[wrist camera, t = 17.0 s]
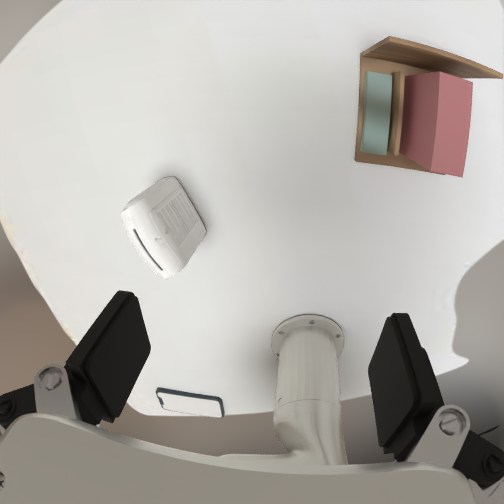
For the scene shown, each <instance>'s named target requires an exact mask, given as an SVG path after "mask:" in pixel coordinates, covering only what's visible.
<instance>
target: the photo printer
mask: <svg viewBox="0 0 504 504" xmlns="http://www.w3.org/2000/svg"><path fill="white" fill-rule="evenodd" d="M120 215H121V219H122V223H123V225H124V228H125V230H126V232H127V234H128V236H129V238H130V240H131V242H132V244H133V245H134V247H135V249H136V250H137V252H138V253H139V255H140V256H141V257H142V259H143V260H144V261H145V262H146V264H147V265H148V266H149V267H150V268H151V269H152V270H153V271H154V272H155V273H156V274H157V275H158V276H160V277H161V278H162V279H167V278H169V277H173V276H175V275H176V274H177V273H179V272H180V271H181V270H182V269H183V268H184V267H185V266H186V264H187V263H188V261H189V260H190V258H191V256H192V255H193V253H194V252H195V250H196V248H197V247H198V245H199V244H200V242H201V241H202V239H203V237H204V236H205V234H206V230H205V227H204V225H203V223H202V221H201V219H200V217H199V215H198V213H197V212H196V210H195V208H194V206H193V205H192V203H191V201H190V200H189V198H188V196H187V194H186V193H185V191H184V189H183V188H182V186H181V185H180V183H179V182H178V180H177V179H176V178H175V177H165V178H163V179H161V180H160V181H158V182H157V183H155V184H154V185H152V186H151V187H149V188H148V189H146V190H145V191H143V192H142V193H140V194H139V195H137V196H136V197H135V198H133V199H132V200H131V201H130V202H129V203H128V204H127V205H126V206H125V209H124V210H123V211H122V212H120Z"/></svg>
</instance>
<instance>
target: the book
mask: <svg viewBox="0 0 504 504" xmlns="http://www.w3.org/2000/svg"><path fill="white" fill-rule="evenodd" d="M472 88H473V82H470V81H467V80H464V79H461V78H459V77H456V76H452V75H449V74H446V73H443V72H431V73H423V74H415V75H408V76H405V79H404V100H403V115H402V127H401V137H400V147H399V153H401V154H403V155H404V156H406V157H408V158H410V159H411V160H413V161H415V162H416V163H418V164H420V165H421V166H423V167H425V168H426V169H428V170H429V171H432V172H438V173H443V174H448V175H453V176H458V177H463V171H464V166H465V159H466V153H467V145H468V138H469V129H470V119H471V106H472Z"/></svg>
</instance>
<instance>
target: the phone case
mask: <svg viewBox="0 0 504 504" xmlns="http://www.w3.org/2000/svg"><path fill="white" fill-rule="evenodd" d="M156 394H157V397H158V399H159V401H160V404H161V406H162V408H164V409H166V410H170V411H176V412H182V413H188V414H194V415H201V416H208V417H216V418H222V417H224V408H223V403H222V399H221V398H219V397H216V396H208V395H201V394H195V393H188V392H182V391H176V390H170V389H165V388H157V390H156Z"/></svg>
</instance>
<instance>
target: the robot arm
mask: <svg viewBox="0 0 504 504" xmlns="http://www.w3.org/2000/svg"><path fill="white" fill-rule="evenodd" d="M271 347H272V351H273V353H274V355H275V356H276V357H277V358H278V359H279V365H278V376H277V387H276V398H275V408H274V419H273V428H274V432H275V435H276V437H277V439H278V441H279V442H280V443H281V445H282V446H283V447H284V448H285V449H286V450H287V451H288V452H289V454H279V455H251V454H250V455H249V454H226V455H222V456H220V457H214V456H208V455H203V454H197V453H192V452H187V451H182V450H177V449H174V448H169V447H165V446H161V445H157V444H153V443H149V442H145V441H142V440H138V439H135V438H132V437H128V436H125V435H122V434H118V433H115V432H112V431H109V430H106V429H103V428H100V426H99V423H100V421H101V420H104V421H107V422H110V423H113V422H114V420H115V418H116V417H119V416H120V414H121V412H122V410H123V408H124V406H125V404H126V401H127V399H128V397H129V395H130V393H131V391H132V389H133V387H134V385H135V383H136V380H137V378H138V376H139V374H140V372H141V370H142V368H143V366H144V364H145V362H146V360H147V358H148V356H149V354H150V350H151V345H150V342H149V338H148V335H147V331H146V327H145V324H144V320H143V316H142V312H141V309H140V305H139V301H138V298H137V297H136V296H135V295H134V294H133V293H132V292H127V291H118V292H117V293H116V294H115V295H114V296H113V298H112V299H111V300H110V302H109V303H108V304H107V306H106V307H105V308H104V310H103V311H102V312H101V314H100V315H99V316H98V318H97V319H96V320H95V322H94V323H93V324H92V326H91V327H90V329H89V330H88V331H87V333H86V334H85V335H84V337H83V338H82V340H81V341H80V342H79V344H78V345H77V347H76V348H75V350H74V351H73V352H72V354H71V355H70V357H69V358H68V360H67V361H66V365H65V366H64V367H63V366H61V365H59V364H49V365H46V366H44V367H43V368H41V369H40V370H39V371H38V372H37V374H36V376H35V378H34V384H32V385H29V386H26V387H23V388H20V389H17V390H14V391H12V392H9V393H6V394H3V395H1V396H0V504H504V452H503V451H502V450H501V449H500V448H498V447H496V446H495V445H493V444H491V443H490V442H488V441H486V440H485V439H484V438H482V437H480V436H479V435H477V434H476V433H474V432H472V431H471V430H469V428H470V420H469V417H468V415H467V413H466V412H465V411H464V410H463V409H462V408H460V407H458V406H456V405H444V402H443V399H442V396H441V393H440V389H439V386H438V383H437V380H436V377H435V375H434V372H433V369H432V366H431V363H430V360H429V358H428V355H427V352H426V351H425V349H424V348H422V347H421V345H420V342H419V339H418V337H417V334H416V332H415V329H414V327H413V324H412V322H411V319H410V317H409V315H408V314H407V313H393V314H392V315H391V317H387V319H386V321H385V324H384V327H383V330H382V333H381V335H380V338H379V341H378V344H377V346H376V349H375V351H374V354H373V357H372V359H371V362H370V364H369V368H368V375H369V380H370V386H371V392H372V399H373V405H374V412H375V419H376V426H377V434H378V442H379V446H380V447H383V450H384V454H388V453H394V458H395V459H396V461H395V462H393V463H378V464H362V465H348V462H347V457H346V452H345V446H344V437H343V425H342V410H341V397H340V385H339V373H338V363H337V357H338V356H339V354H340V353H341V352H342V349H343V347H344V336H343V332H342V330H341V328H340V327H339V326H338V325H337V324H336V323H335V322H333V321H332V320H330V319H328V318H326V317H322V316H318V315H302V316H296V317H293V318H291V319H288V320H286V321H285V322H283V323H282V324H280V325H279V326H278V327H277V329H276V330H275V331H274V333H273V335H272V341H271Z"/></svg>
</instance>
